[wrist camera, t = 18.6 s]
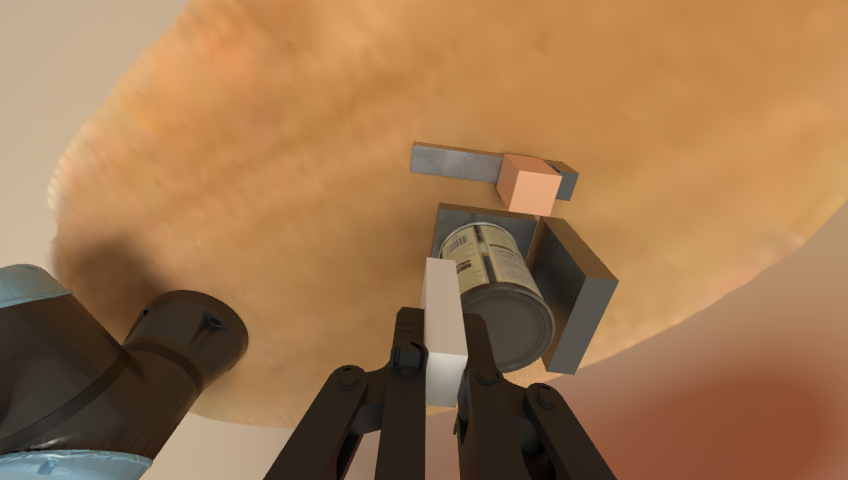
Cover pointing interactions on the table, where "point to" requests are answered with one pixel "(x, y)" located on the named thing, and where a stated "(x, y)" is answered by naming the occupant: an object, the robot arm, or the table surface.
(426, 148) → the rail
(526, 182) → the lever knob
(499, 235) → the coffee can
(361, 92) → the table surface
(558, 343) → the tray
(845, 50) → the table surface
